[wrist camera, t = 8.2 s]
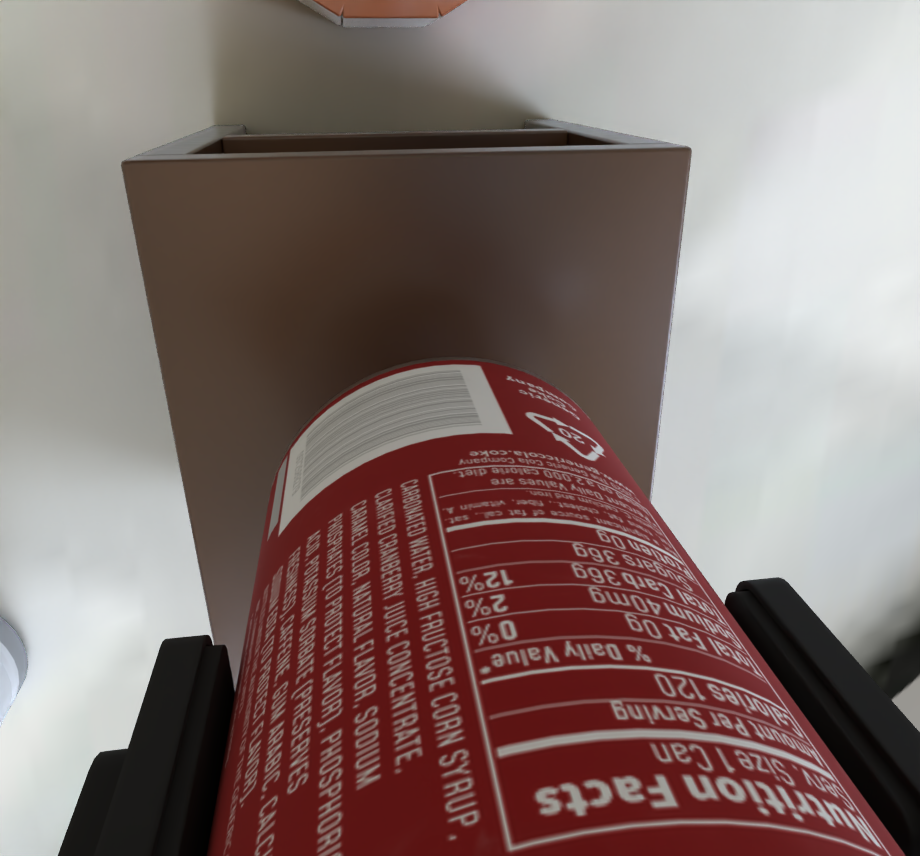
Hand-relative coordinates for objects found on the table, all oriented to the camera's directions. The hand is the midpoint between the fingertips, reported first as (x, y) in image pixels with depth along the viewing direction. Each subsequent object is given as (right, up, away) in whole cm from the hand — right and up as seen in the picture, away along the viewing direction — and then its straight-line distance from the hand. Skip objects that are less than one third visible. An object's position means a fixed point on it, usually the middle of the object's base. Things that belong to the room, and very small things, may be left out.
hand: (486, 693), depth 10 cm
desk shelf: (-3, +8, +16) cm, 18 cm away
